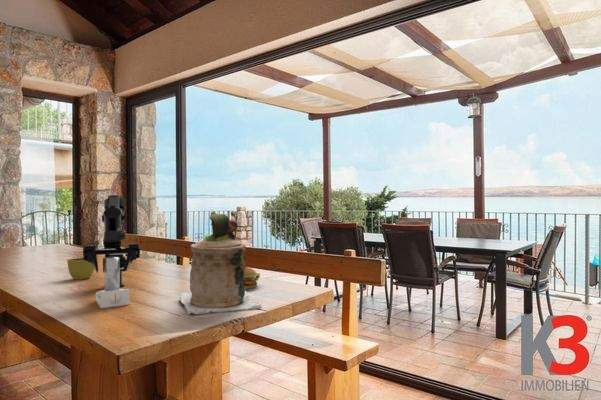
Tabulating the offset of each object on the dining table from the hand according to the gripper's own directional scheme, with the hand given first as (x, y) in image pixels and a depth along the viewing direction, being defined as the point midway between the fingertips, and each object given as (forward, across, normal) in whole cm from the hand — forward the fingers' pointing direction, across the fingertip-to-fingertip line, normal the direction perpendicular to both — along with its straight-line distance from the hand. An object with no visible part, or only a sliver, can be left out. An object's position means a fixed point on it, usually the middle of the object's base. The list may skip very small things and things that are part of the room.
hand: (111, 271), depth 145 cm
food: (+2, +50, +14) cm, 52 cm away
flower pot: (-30, -14, +46) cm, 57 cm away
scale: (+7, 0, +8) cm, 11 cm away
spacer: (+4, 0, +6) cm, 8 cm away
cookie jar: (+19, +34, -3) cm, 39 cm away
